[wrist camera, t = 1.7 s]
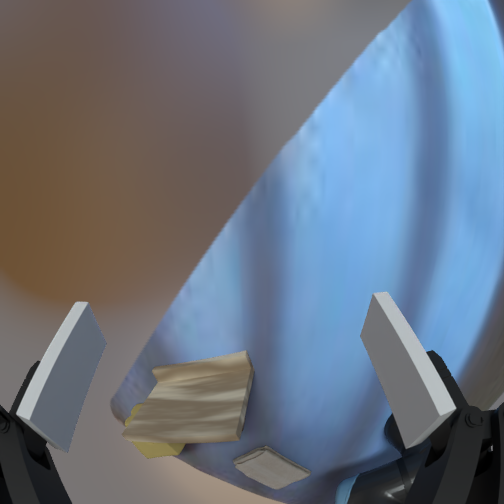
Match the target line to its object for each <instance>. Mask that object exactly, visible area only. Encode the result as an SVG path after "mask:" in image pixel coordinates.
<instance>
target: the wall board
mask: <svg viewBox="0 0 504 504" xmlns="http://www.w3.org/2000/svg"><path fill="white" fill-rule="evenodd" d="M152 372H153V374H154V376H155V377H156V379H157V381H158V383H157V385H156V386H155V388H154V389H153V390H152V392H151V393H150V395H149V396H148V398H147V399H146V400H145V402H144V403H143V405H142V406H141V408H140V409H139V410H138V412H137V413H136V415H135V416H134V418H133V419H132V420H131V422H130V423H129V425H128V426H127V428H126V429H125V430H124V432H123V433H122V435H123V437H124V438H125V439H126V440H127V441H137V442H153V443H211V442H227V441H238V440H240V436H241V432H242V431H243V427H244V423H245V413H246V409H247V404H248V399H249V394H250V389H251V385H252V380H253V375H254V368H253V365H252V363H251V360H250V358H249V355H248V353H247V350H246V351H242V352H237V353H233V354H228V355H223V356H218V357H213V358H207V359H202V360H196V361H191V362H185V363H178V364H172V365H165V366H158V367H154V369H153V370H152Z"/></svg>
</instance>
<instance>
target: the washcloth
mask: <svg viewBox="0 0 504 504" xmlns="http://www.w3.org/2000/svg"><path fill="white" fill-rule="evenodd" d="M233 463H234V464H235V465H236V466H235V468H237V469H238V470H240V471H242V472H243V473H244V474H245V475H246V476H247V477H249V478H252V479H254V480H256V481H258V482H260V483H262V484H264V485H267V486H269V487H271V488H273V489H280V488H282V487H285V486H287V485H288V484H291V483H293V482H296V481H299V480H302V479H304V478H306V477H308V476H310V475H311V471H309V470H307V469H306V468H304V467H302V466H300V465H298V464H296V463H295V462H293V461H291V460H289V459H287V458H285V457H284V456H282V455H280V454H279V453H277V452H276V451H274V450H273V449H271V448H269V447H268V446H266V445H265V446H264V447H263V448H262V447H261V448H257V449H255V450H252V451H250V452H249V453H247V454H244V455H242V456H240V457H237V458H235V459H234V460H233Z"/></svg>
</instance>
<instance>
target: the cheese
mask: <svg viewBox="0 0 504 504" xmlns="http://www.w3.org/2000/svg"><path fill="white" fill-rule="evenodd" d="M142 405H143V403H142V404H137V405H136V406H134V408H133V409H132V411H131V414H132V415H131V416H130V417H128V418H127V419H126V421H125V426H126V427H127V426H128V425H129V423H130V422H131V420H132V419H133V418H134V416H135V415H136V413H137V412H138V410H139V409H140V408H141V406H142ZM132 443H133V444H134V445H135V446H136V447H137V449H138V450H139V451H140V452H141V453H142V454H143V455H144V456H145V457H146V458H148V459H149V458H155V457H162V456H171V455H179V454H180V452H181V451H182V449H183V448H184V446H185V444H186V443H153V442H137V441H132Z"/></svg>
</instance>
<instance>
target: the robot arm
mask: <svg viewBox="0 0 504 504" xmlns="http://www.w3.org/2000/svg"><path fill="white" fill-rule="evenodd" d="M360 337H361V339H362V341H363V343H364V346H365V348H366V350H367V352H368V355H369V357H370V359H371V362H372V364H373V366H374V368H375V371H376V373H377V376H378V378H379V380H380V383H381V385H382V388H383V390H384V392H385V395H386V397H387V400H388V402H389V405H390V407H391V410H392V413H393V414H392V415H391V416H390V417H389V419H388V421H387V422H386V425H385V433H386V436H387V439H388V441H389V442H390V443H391V444H392V445H393V446H394V447H395V448H396V449H397V450H398V451H399V452H400V453H401V455H402V458H400V459H397V460H395V461H392V462H390V463H388V464H385V465H383V466H380V467H378V468H375V469H372V470H370V471H367V472H364V473H359V474H357V475H356V476H353V477H350V478H347V479H345V480H343V481H342V482H341V483H340V484H339V485H338V488H337V490H336V495H335V504H504V402H503V403H502V404H501V405H500V406H499V407H498V408H497V409H496V410H489V411H481V410H480V409H479V408H477V407H475V406H469V405H468V403H467V402H466V400H465V398H464V396H463V394H462V392H461V391H460V389H459V387H458V385H457V383H456V382H455V380H454V378H453V376H451V373H450V371H449V369H447V366H446V364H445V363H444V361H443V359H442V358H441V357H440V356H439V355H438V354H437V353H435V352H434V351H433V350H432V351H428V352H425V350H424V348H423V347H422V345H421V343H420V342H419V340H418V338H417V337H416V335H415V334H414V332H413V330H412V329H411V327H410V326H409V324H408V322H407V321H406V319H405V318H404V316H403V315H402V313H401V312H400V310H399V309H398V307H397V306H396V304H395V303H394V301H393V300H392V298H391V297H390V295H389V294H388V292H380V293H373V295H372V299H371V302H370V306H369V309H368V313H367V316H366V319H365V322H364V326H363V329H362V332H361V335H360ZM106 344H107V343H106V341H105V339H104V337H103V334H102V333H101V330H100V328H99V326H98V324H97V322H96V319H95V317H94V315H93V312H92V310H91V308H90V305H89V303H88V302H76V303H75V304H74V306H73V307H72V309H71V311H70V312H69V314H68V315H67V317H66V319H65V320H64V322H63V324H62V325H61V327H60V329H59V330H58V332H57V334H56V335H55V337H54V339H53V340H52V342H51V344H50V346H49V347H48V350H47V351H46V353H45V355H44V357H43V358H42V360H41V361H37V362H36V363H35V364H34V365H33V366H32V367H31V368H30V370H29V372H28V374H27V376H26V379H25V380H24V382H23V384H22V385H23V386H21V388H20V390H19V392H18V394H17V396H16V399H15V401H14V403H13V405H12V408H11V410H10V412H9V413H8V412H7V411H6V410H5V409H4V408H3V407H2V406H1V405H0V504H72V502H71V500H70V498H69V496H68V494H67V492H66V490H65V488H64V486H63V484H62V482H61V479H60V477H59V474H58V472H57V470H56V467H55V465H54V462H53V460H52V457H51V454H50V452H49V450H48V448H47V447H46V443H47V442H48V443H49V444H51V445H52V446H53V447H54V448H56V449H59V450H62V451H65V452H67V453H68V451H69V447H70V444H71V440H72V437H73V434H74V430H75V427H76V424H77V421H78V418H79V415H80V412H81V409H82V406H83V403H84V400H85V397H86V395H87V392H88V389H89V386H90V383H91V381H92V378H93V376H94V373H95V371H96V368H97V365H98V363H99V361H100V358H101V356H102V353H103V351H104V348H105V346H106ZM492 445H493V451H491V446H492Z"/></svg>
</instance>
